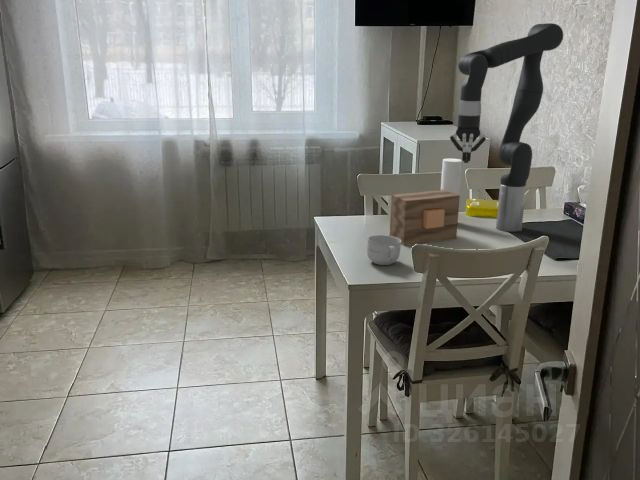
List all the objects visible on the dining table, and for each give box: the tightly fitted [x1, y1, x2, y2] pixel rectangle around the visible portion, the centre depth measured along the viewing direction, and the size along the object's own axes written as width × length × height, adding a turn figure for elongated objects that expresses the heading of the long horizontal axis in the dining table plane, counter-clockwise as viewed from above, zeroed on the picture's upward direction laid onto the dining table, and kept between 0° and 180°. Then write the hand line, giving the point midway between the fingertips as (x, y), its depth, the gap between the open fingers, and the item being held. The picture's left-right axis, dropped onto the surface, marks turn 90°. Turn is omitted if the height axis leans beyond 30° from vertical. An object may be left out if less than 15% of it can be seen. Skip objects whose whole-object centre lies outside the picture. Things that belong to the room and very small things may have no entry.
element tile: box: [465, 198, 499, 219], centre depth 262 cm, size 15×15×5 cm
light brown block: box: [422, 208, 445, 229], centre depth 221 cm, size 8×7×6 cm
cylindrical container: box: [440, 157, 463, 196], centre depth 243 cm, size 7×7×25 cm
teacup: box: [366, 234, 402, 266], centre depth 199 cm, size 14×11×8 cm
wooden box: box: [389, 189, 461, 246], centre depth 224 cm, size 10×22×16 cm, turn 113°
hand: (465, 162), depth 224 cm, fingers closed
